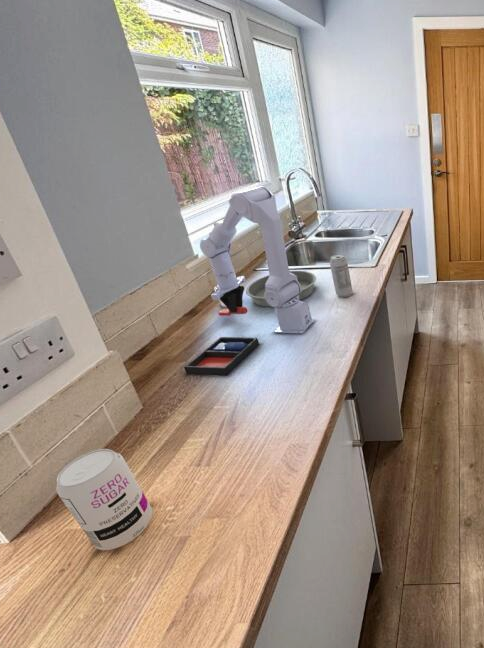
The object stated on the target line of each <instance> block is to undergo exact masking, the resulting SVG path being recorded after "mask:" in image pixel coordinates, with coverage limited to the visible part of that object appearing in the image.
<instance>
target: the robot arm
mask: <svg viewBox="0 0 484 648" xmlns="http://www.w3.org/2000/svg"><path fill="white" fill-rule="evenodd" d="M276 202H277V201H276V196H275V194H274V193H273V192H272V191H271V190H270V189H268V188H267V187H266V186H263V185H260V186H257V187H254V188H251V189H246V190H243V191H242V190H241V191H238V192H234V193H233V194H231V196H230V198H229V200H228V204H229V206H228V209H227V210H226V212H225V215H224V217H223V219H222V220H219V221H215V222H214V223H213V228H212V230H211V232H209V233H208V237H207V238H203V239H201V240H200V243H199V248H200V251H201V253H202V254H203V255H204V256H205V257H206V258H208V261H209V263H210V267H211V269H212V272H213V275H214V278H215V281H216V283H217V285H215V286H216V288H217V289H216V290H214V291H213V293H212V294H210V297H211V299H212V301H219V300H221V301H222V302H223V303H224V304H225V305H226V307H225V308H228V309H229V311H230V312H237V307H243V297H244V291H245V286H244V285H241V284H243V283H246V282H247V280H246V277H245V275H239V276H237V275H236V272H235V269H234V265H233V263H232V259H231V256H232V253H231V250H232V245H231V243H232V241H233V239H234V237H235V235H236V234H237V227H236V226H237V225H238V224H239V223H240V221H241V220H242V219H243V218H245V219H246V220H248V221H249V222H252V223H254V224H257V225H258V226H260V231H261V236H262V242H263V248H264V253H265V257H266V263H267V269H268V275H270V276H269V278H268V280H267V282H266V284H265V294H264V295H265V299H266V301H267V303H268V304H269V305H271V306H270V307H272V308H274V311H275V315H276V319H277V323H278V327H277V328H275V330H274V333H275V334H304V333H305V332H306V331H307V329H308V328H309V327H310V326H311V325H312V324H313V323H314V322H315V320H314V319H313V318H312V314H311V313H312V312H311V310H310V305H309V304H308V303H307V302H306V301H301V300H298V299H299V294H300V293H301V286H300V284H299V282H298V279H297V276H296V275H295V274H293V273H290V272H289V271H290V269H289V263H288V256H287V249H286V243H285V237H284V230H283V226H282V220H281V216H280V213H279V211H278V208H277V203H276Z"/></svg>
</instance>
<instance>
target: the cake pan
mask: <svg viewBox="0 0 484 648" xmlns="http://www.w3.org/2000/svg"><path fill="white" fill-rule="evenodd" d="M289 272H290V273H293V274H295V275H296V276H297V279H298V282H299V284H300V286H301V293H300V294H299V299H298V300H299V301H301V300H303V299H305V298H308V297H309V296H310V295H311V294H312V293H313V292H314V285H315V283H316V281H317V277H316V275H315V274H314V273H313V272H310V271H305V270H289ZM269 276H270V274H268V275H265V276H262V277H260V278H258V279H256V280H255V281H252V282H251V283H249V284H248V286H247V287H246V288H245V293H246V295H247V296H248V297H250V298H251V299H252V300H253V302H254V303H255V304H256V305H258V306H261V307H272V306H271V305H269V304H268V303H267V301H266V299H265V295H264V294H265V284H266V282H267V280H268V278H269Z"/></svg>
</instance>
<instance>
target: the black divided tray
mask: <svg viewBox="0 0 484 648" xmlns="http://www.w3.org/2000/svg"><path fill="white" fill-rule="evenodd" d="M228 342H243V343H245V344H246V345H247V346H246V347H245V348H244V349H243V350H242V351H231V350H228V351H213V349H214V348H215V347H216V346H217V345H218V344H220V343H228ZM259 346H260V342H259V339H258V337H244V336H243V337H240V336H239V337H235V336H220V337H218V338H217V339H216V340H215V341H214V342H212V343H211V344H210V345H208V346H207V347H206V348H204V350H203V351H202V352H200V353H198V355H197V356H195V357H194V358H193V359H192V360H191V361H189V362H188V363H187V364H185V365H184V366H183V368H184V371H185V373H186V375H194V376H195V375H197V376H218V377H220V376H221V377H222V376H223V377H228V376H229V375H230V374H231V373H232V372H233V371H234V370H235V369H237V367H238V366H240V364H241V363H242V362H244V360H246V359H247V358H248V357H249V356H250V355H251V354H252V353H253V352H254V351H255V350H257V348H258V347H259Z"/></svg>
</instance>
